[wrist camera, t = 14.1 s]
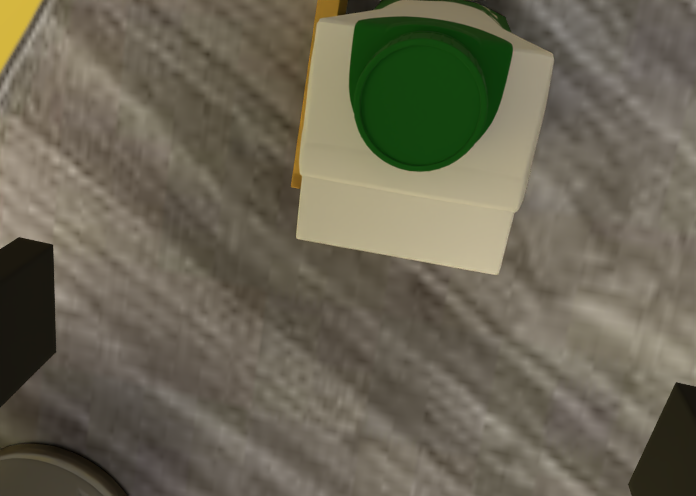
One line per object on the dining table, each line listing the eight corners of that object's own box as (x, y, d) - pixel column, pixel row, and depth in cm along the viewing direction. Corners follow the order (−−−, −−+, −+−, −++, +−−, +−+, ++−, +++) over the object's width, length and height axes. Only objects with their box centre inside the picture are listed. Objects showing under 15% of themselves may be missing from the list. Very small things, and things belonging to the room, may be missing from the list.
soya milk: (525, 1, 36) (593, 47, 18) (489, 158, 40) (515, 327, 22) (369, -21, 37) (282, 1, 19) (348, 135, 40) (260, 279, 22)
